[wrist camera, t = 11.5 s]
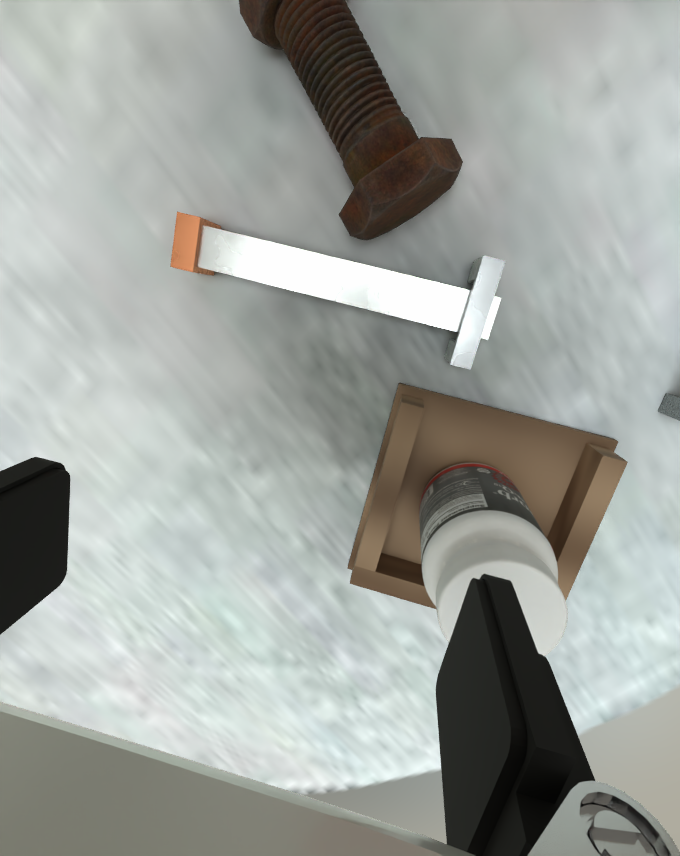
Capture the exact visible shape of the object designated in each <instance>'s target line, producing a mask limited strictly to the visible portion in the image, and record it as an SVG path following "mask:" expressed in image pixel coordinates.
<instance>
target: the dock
mask: <svg viewBox="0 0 680 856" xmlns="http://www.w3.org/2000/svg"><path fill="white" fill-rule="evenodd" d="M617 443H618V441H617V440H615V439H612V438H608V437H605V436H601V435H597V434H593V433H589V432H585V431H582V430H578V429H574V428H570V427H566V426H563V425H559V424H555V423H551V422H547V421H543V420H540V419H536V418H532V417H528V416H524V415H520V414H517V413H513V412H509V411H505V410H501V409H498V408H494V407H490V406H486V405H482V404H478V403H475V402H471V401H467V400H463V399H459V398H455V397H452V396H448V395H444V394H440V393H436V392H433V391H429V390H425V389H421V388H417V387H413V386H410V385H406V384H402V383H399V385H398V388H397V392H396V396H395V399H394V403H393V406H392V410H391V414H390V417H389V421H388V424H387V428H386V431H385V435H384V439H383V442H382V446H381V449H380V453H379V457H378V460H377V464H376V467H375V471H374V474H373V478H372V482H371V485H370V489H369V492H368V496H367V499H366V503H365V507H364V510H363V514H362V517H361V521H360V525H359V528H358V532H357V535H356V539H355V542H354V546H353V550H352V553H351V557H350V560H349V564H348V569H351V570H352V575H351V580H350V584H353V585H357V586H360V587H363V588H367V589H370V590H374V591H377V592H380V593H384V594H387V595H390V596H394V597H397V598H400V599H404V600H407V601H411V602H414V603H417V604H421V605H424V606H427V607H431V608H434V609H437V608H436V606H435V605H434V604H433V602H432V600H431V599H430V597H429V595H428V593H427V591H426V588H425V585H424V581H423V575H422V568H421V543H420V525H419V506H420V500H421V496H422V493H423V491H424V489H425V487H426V486H427V484H428V483H429V481H430V480H431V479H432V478H433V477H434V476H435V475H436V474H438V473H439V472H441V471H442V470H444V469H446V468H448V467H450V466H453V465H456V464H461V463H481V464H485V465H488V466H491V467H494V468H496V469H498V470H499V471H501V472H503V473H504V474H505V475H506V476H508V477H509V478H510V479H511V480H512V482H513V483H514V484H515V485H516V487H517V488H518V490H519V492H520V493H521V495H522V497H523V499H524V500H525V502H526V504H527V505H528V507H529V509H530V511H531V512H532V514H533V516H534V518H535V519H536V521H537V523H538V524H539V526H540V528H541V529H542V531H543V533H544V534H545V536H546V538H547V539H548V541H549V543H550V544H551V546H552V549H553V552H554V555H555V558H556V561H557V567H558V585H559V587H560V589H561V591H562V593H563V596H564V598H565V601H566V599H567V597H568V594H569V592H570V590H571V588H572V585H573V583H574V581H575V579H576V577H577V574H578V572H579V570H580V568H581V565H582V563H583V561H584V559H585V556H586V554H587V552H588V550H589V548H590V545H591V543H592V541H593V539H594V536H595V534H596V532H597V530H598V527H599V525H600V523H601V521H602V518H603V516H604V514H605V512H606V510H607V507H608V505H609V503H610V501H611V498H612V496H613V494H614V492H615V489H616V487H617V485H618V483H619V481H620V478H621V476H622V474H623V472H624V469H625V467H626V465H627V463H628V462H627V461H625V460H624V459H623V458H621V457H620V456H618V455H617V454H616V453H614V450H615V448H616V446H617Z"/></svg>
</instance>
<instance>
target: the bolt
mask: <svg viewBox="0 0 680 856" xmlns="http://www.w3.org/2000/svg"><path fill="white" fill-rule="evenodd" d="M239 4H240V13H241V15H242V17H243V19H244V21H245V23H246V25H247V26H248V28H249V30H250V32H251V34H252V36H253V37H254V38H256V39H257V40H259V41H261V42H262V43H264V44H266V45H268V46H270V47H273V48H275V49H284V52H285V54H286V55H287V57H288V60H289V61H290V62H291V65H292V67H293V69H295V73H296V74H297V76H298V77H299V80H300V81H301V82H302V85H303V87H304V89H305V90H306V93H307V95H308V96H309V98H310V100H311V102H312V104H313V105H314V106H315V110H316V111H317V112H318V115H319V117H320V118H321V119H322V122H323V125H325V128H326V130H327V132H328V133H329V136H330V138H331V139H332V142H333V143H334V145H335V146H336V149H337V151H338V152H339V154H340V157H341V159H342V161H343V166H344V168H345V170H346V172H347V174H348V176H349V178H350V180H351V182H352V184H353V186H354V190H353V191H352V193H351V195H350V196H349V198H348V200H347V202H346V203H345V205H344V207H343V208H342V210H341V212H340V213H339V216H340V218H341V220H342V221H343V223H344V225H345V227H346V229H347V230H348V232H349V234H350V236H353V237H356V238H359V239H364V240H370V239H372V238H375V237H377V236H379V235H382V234H384V233H386V232H388V231H390V230H392V229H394V228H396V227H398V226H399V225H401V224H403V223H404V222H406V221H407V220H409V219H411V218H413V217H414V216H416V215H417V214H418V213H420V212H421V211H422V210H424V209H425V208H426V207H428V206H429V205H430V204H432V203H433V202H434V201H435V200H437V199H438V198H439V197H440V196H441V195H442V194H444V193H445V192H446V191H447V190H449V189H450V188H451V186H452V185H453V184H454V182H455V180H456V178H457V176H458V174H459V171H460V169H461V166H462V163H463V161H462V159H461V157H460V155H459V153H458V151H457V149H456V147H455V145H454V143H453V141H452V139H446V138H428V137H421V138H420V139H419V138H418V136H417V135H416V133H415V131H414V129H413V127H412V125H411V123H410V121H409V119H408V118H407V117H405V116H404V114H403V112H401V108H400V107H399V106H398V105H397V101H396V99H395V98H394V96H393V93H392V92H391V91H390V88H389V85H388V83H386V79H385V77H384V76H383V75H382V71H381V69H380V68H379V67H378V63H377V61H376V60H375V58H374V55H373V53H372V52H371V49H370V47H369V45H367V42H366V40H365V39H364V38H363V34H362V32H361V31H360V30H359V26H358V24H357V23H356V22H355V19H354V17H353V15H351V11H350V10H349V8H348V7H347V4H346V2H345V1H344V0H239Z"/></svg>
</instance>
